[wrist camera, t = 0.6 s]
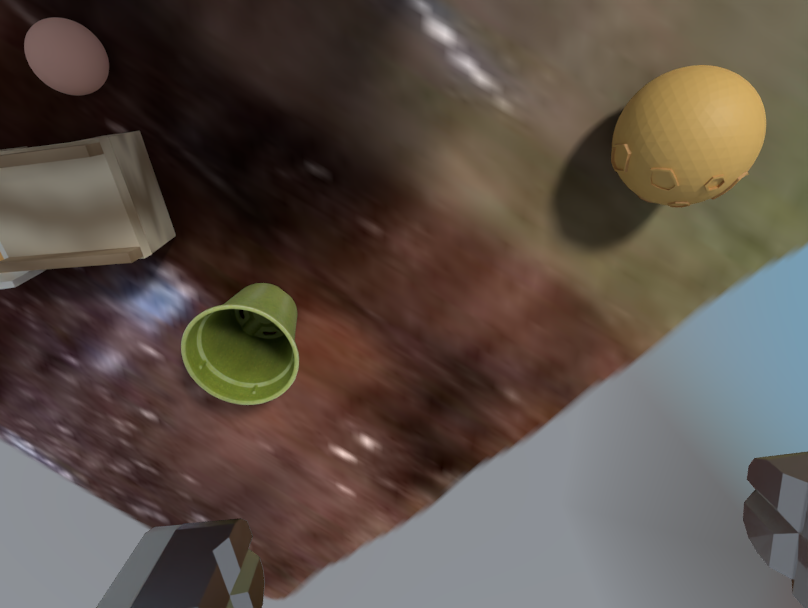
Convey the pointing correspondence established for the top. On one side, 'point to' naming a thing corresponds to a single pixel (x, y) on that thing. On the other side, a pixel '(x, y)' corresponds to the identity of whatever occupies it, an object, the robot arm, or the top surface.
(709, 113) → the stress ball
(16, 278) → the tray
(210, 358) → the plant pot
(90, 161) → the launch ramp
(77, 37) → the rubber ball
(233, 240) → the top surface
